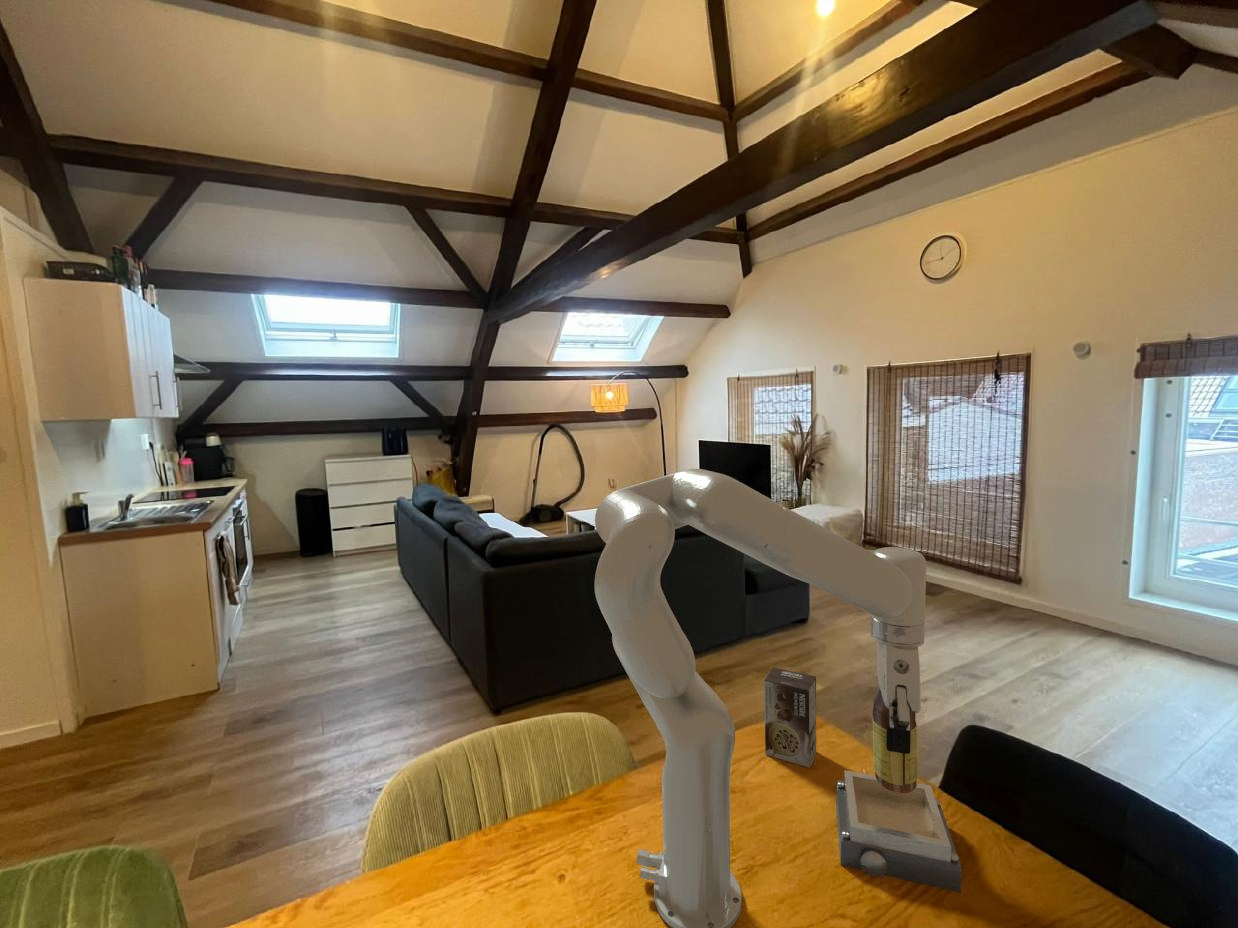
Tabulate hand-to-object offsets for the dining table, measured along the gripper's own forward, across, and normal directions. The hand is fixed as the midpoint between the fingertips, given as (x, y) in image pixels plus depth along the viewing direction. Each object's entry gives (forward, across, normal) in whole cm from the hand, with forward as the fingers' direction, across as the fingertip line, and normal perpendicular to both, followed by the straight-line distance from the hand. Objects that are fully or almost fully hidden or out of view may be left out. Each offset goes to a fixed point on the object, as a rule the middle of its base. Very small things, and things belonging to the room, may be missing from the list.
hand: (894, 736), depth 85 cm
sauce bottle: (+8, 0, 0) cm, 8 cm away
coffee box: (+18, +19, +16) cm, 31 cm away
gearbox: (+18, 0, 0) cm, 18 cm away
